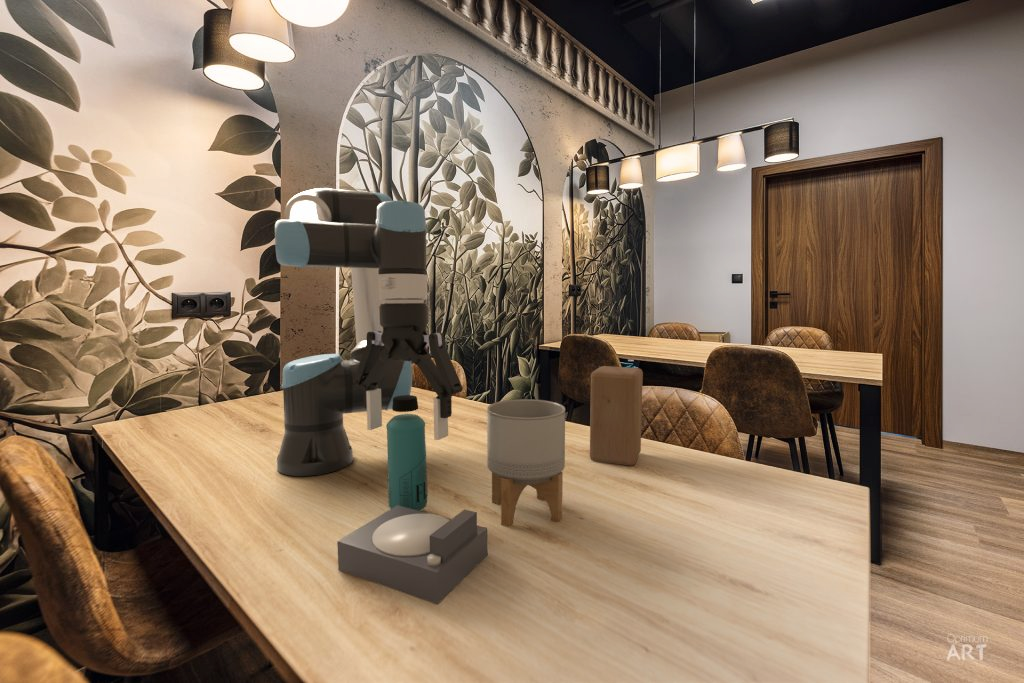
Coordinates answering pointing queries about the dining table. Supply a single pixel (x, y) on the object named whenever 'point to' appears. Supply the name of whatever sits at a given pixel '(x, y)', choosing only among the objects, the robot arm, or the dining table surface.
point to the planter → (526, 453)
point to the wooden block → (616, 414)
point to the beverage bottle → (406, 456)
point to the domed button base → (415, 551)
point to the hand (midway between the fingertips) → (406, 432)
